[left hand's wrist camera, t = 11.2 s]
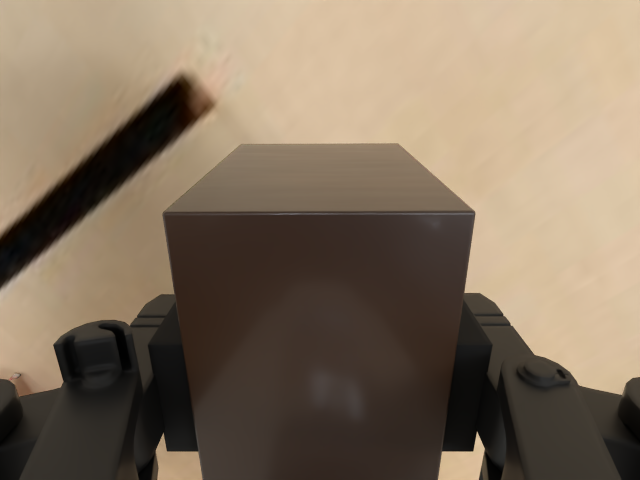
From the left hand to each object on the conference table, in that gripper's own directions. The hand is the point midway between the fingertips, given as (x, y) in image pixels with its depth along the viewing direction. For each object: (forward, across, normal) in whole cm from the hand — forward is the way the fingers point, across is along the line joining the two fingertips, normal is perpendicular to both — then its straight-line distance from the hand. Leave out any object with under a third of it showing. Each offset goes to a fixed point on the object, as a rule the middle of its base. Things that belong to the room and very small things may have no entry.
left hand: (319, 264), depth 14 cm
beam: (0, 0, -10) cm, 10 cm away
